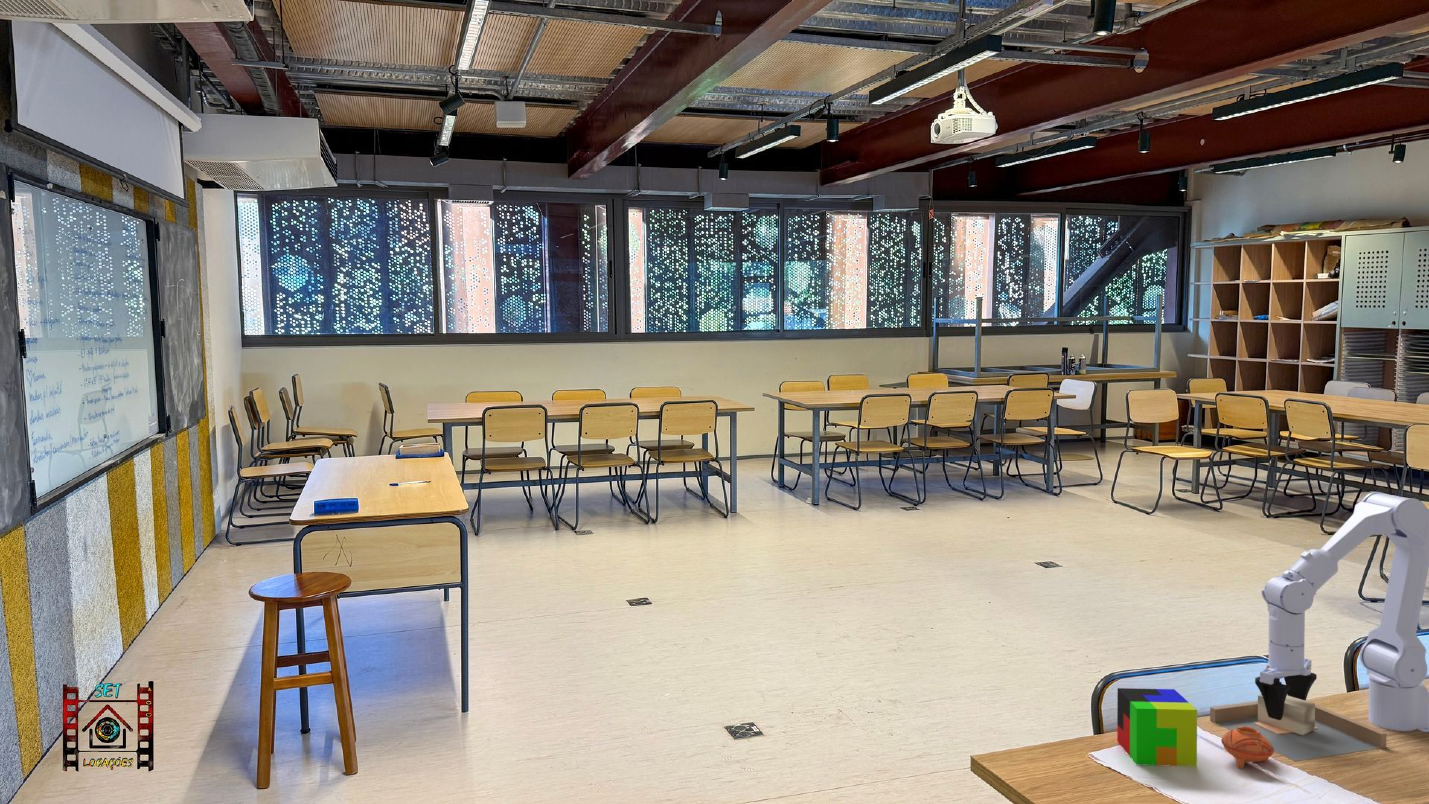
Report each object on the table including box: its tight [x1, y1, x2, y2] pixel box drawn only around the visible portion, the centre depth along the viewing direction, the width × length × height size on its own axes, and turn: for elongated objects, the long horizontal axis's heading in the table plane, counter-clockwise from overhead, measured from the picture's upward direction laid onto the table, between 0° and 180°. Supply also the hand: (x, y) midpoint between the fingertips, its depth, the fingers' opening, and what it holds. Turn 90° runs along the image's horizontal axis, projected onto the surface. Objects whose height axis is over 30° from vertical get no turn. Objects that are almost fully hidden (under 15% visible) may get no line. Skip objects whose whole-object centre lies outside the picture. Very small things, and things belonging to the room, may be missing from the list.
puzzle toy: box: [1116, 687, 1198, 767], centre depth 165 cm, size 10×10×10 cm
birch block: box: [1257, 693, 1316, 735], centre depth 174 cm, size 4×8×5 cm, turn 32°
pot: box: [1220, 726, 1274, 770], centre depth 160 cm, size 8×8×7 cm
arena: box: [1209, 700, 1388, 762], centre depth 171 cm, size 20×19×3 cm
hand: (1285, 713), depth 174 cm, fingers open, 7 cm apart
